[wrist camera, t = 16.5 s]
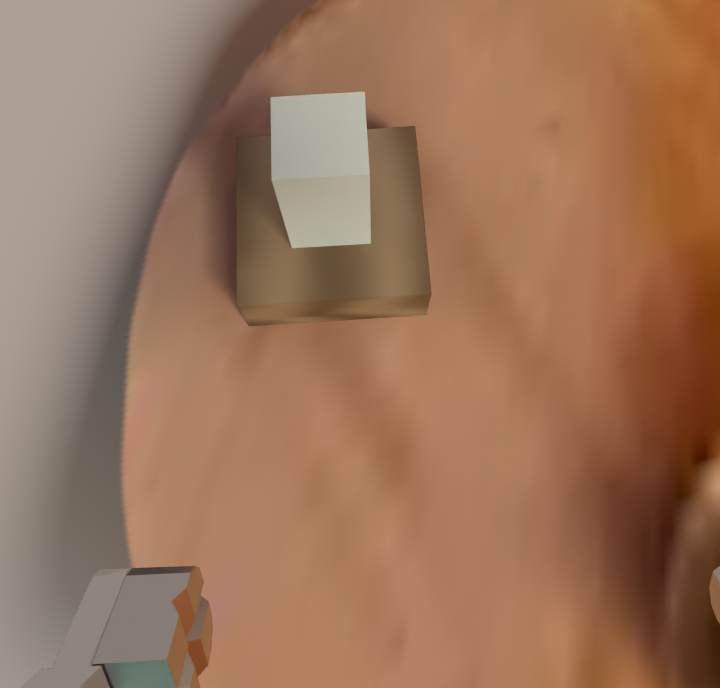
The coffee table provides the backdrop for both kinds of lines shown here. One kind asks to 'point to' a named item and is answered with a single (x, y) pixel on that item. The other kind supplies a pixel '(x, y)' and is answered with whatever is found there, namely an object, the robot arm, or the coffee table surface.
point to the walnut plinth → (333, 263)
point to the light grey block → (322, 168)
